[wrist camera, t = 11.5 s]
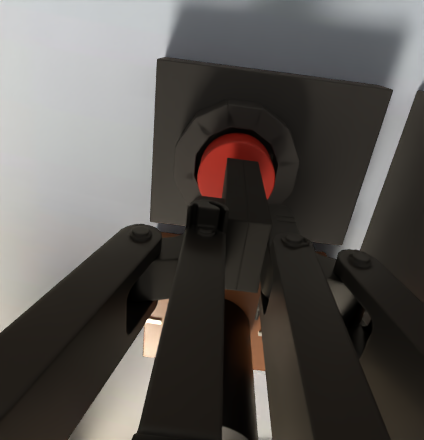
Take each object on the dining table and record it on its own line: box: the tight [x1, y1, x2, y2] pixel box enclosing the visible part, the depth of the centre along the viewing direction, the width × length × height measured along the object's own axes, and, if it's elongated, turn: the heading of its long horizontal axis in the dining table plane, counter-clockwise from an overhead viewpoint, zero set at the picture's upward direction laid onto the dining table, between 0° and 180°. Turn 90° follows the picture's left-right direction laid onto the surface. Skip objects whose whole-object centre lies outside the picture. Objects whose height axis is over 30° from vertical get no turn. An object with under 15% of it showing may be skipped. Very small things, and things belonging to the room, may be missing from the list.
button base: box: [150, 57, 393, 245], centre depth 22 cm, size 13×10×4 cm
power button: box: [197, 133, 275, 199], centre depth 19 cm, size 4×4×2 cm
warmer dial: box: [222, 299, 258, 440], centre depth 22 cm, size 6×6×10 cm
